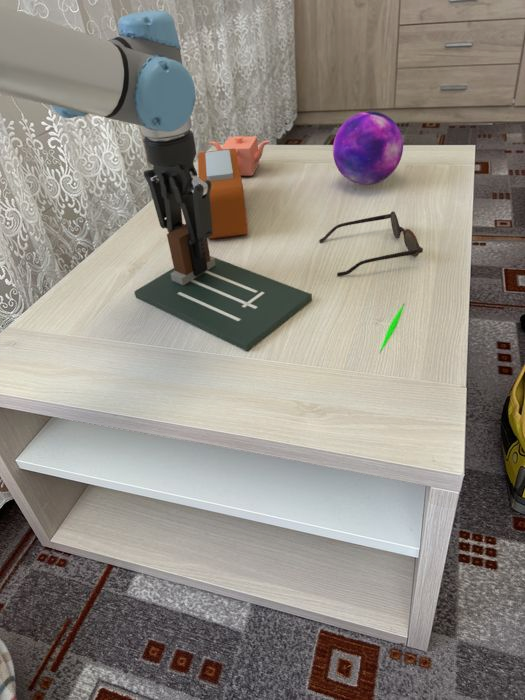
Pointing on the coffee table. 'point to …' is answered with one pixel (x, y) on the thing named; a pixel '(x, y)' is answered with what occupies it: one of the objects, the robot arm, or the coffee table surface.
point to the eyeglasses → (408, 235)
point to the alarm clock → (224, 192)
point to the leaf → (392, 327)
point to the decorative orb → (368, 148)
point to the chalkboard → (227, 302)
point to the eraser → (184, 256)
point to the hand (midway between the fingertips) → (193, 269)
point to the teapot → (244, 152)
